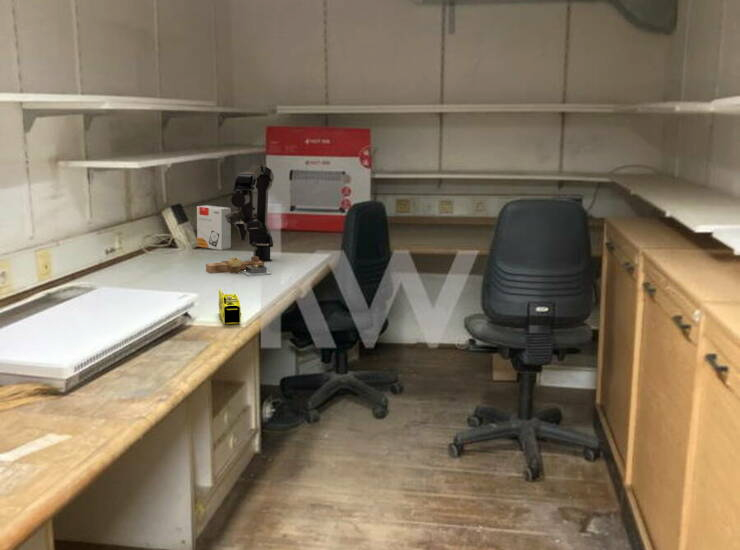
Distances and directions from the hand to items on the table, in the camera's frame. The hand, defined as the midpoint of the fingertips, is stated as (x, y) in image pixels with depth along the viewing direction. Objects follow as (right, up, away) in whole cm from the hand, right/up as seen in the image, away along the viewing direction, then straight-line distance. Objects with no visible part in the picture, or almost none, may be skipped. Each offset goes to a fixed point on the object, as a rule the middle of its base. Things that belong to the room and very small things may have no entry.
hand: (246, 242), depth 287 cm
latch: (-4, -10, -5) cm, 12 cm away
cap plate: (+5, -12, -5) cm, 14 cm away
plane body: (-5, -11, 0) cm, 12 cm away
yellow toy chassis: (+8, -27, -74) cm, 79 cm away
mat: (+5, -13, -5) cm, 15 cm away
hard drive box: (-26, 0, +54) cm, 60 cm away
